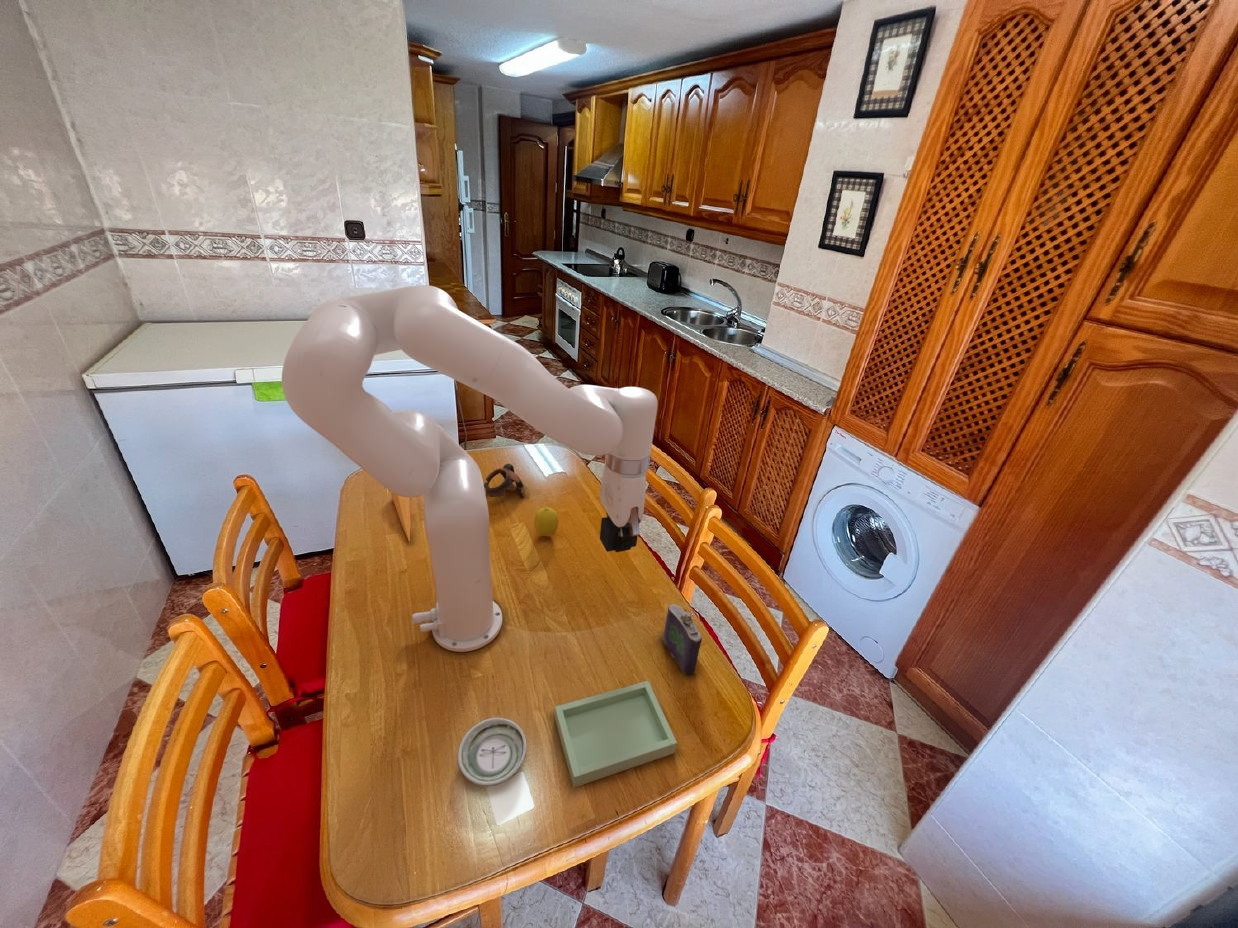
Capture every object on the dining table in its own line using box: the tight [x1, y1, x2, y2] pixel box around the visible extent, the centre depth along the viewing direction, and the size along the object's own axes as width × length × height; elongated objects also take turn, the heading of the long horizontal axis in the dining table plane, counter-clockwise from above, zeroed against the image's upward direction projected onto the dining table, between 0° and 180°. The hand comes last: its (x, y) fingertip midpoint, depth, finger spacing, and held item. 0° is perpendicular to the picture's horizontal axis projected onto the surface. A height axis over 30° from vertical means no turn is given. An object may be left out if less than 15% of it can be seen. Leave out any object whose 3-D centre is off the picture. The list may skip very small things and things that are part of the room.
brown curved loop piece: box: [483, 463, 526, 498], centre depth 130 cm, size 12×10×8 cm
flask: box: [661, 603, 703, 677], centre depth 88 cm, size 9×3×11 cm, turn 26°
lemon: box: [533, 506, 559, 537], centre depth 115 cm, size 6×6×8 cm
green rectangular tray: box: [554, 680, 678, 788], centre depth 76 cm, size 16×11×3 cm
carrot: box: [390, 491, 412, 543], centre depth 117 cm, size 20×4×4 cm, turn 26°
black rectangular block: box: [599, 516, 639, 553], centre depth 93 cm, size 6×4×5 cm, turn 112°
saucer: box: [457, 717, 528, 787], centre depth 72 cm, size 10×10×2 cm
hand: (617, 541), depth 94 cm, fingers closed on black rectangular block, 4 cm apart
